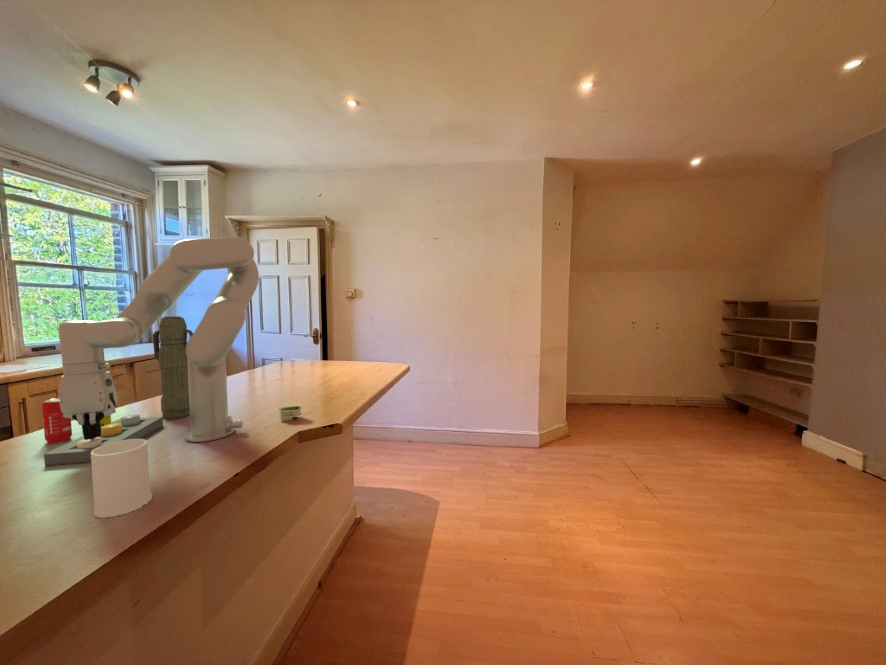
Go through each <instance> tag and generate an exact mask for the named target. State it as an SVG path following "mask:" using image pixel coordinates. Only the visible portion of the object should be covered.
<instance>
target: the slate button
mask: <svg viewBox="0 0 886 665" xmlns="http://www.w3.org/2000/svg"><path fill="white" fill-rule="evenodd" d="M140 418H141V416H140V414H128V415H125V416H121V417H120V418H119V419H120V421H121V424H122V426H136V425H138V424H139V423H140Z"/></svg>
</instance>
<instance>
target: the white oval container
mask: <svg viewBox="0 0 886 665" xmlns="http://www.w3.org/2000/svg"><path fill="white" fill-rule="evenodd" d="M148 450H149V449H148V441H147V440H146V439H144V438H142V439H127V440H121V441H116V442H112V443H108V444H105V445H102V446H100V447H97V448H95V449H94V450H92V451H91V463H90V464H91V474H92V475H91V476H92V488H93V501H94V502H93V503H94V505H93V507H94V508H93V515H94V517H96V518H99V519H110V518H115V517H119V515H120V516H124V515H127V514H129V513H132V511H133V512H135V511H137V510H140V509H141V508H143V507H144V506H143V505H145V504H146V505H147V504H148V502H149V501H150V502H151V500H152V499H153V493H152V492H151V481H150V465H149V451H148ZM150 502H149V503H150ZM146 505H145V506H146ZM142 506H143V507H142ZM123 514H124V515H123ZM107 517H108V518H107ZM109 517H110V518H109Z"/></svg>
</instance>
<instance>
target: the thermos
mask: <svg viewBox="0 0 886 665" xmlns="http://www.w3.org/2000/svg"><path fill="white" fill-rule="evenodd" d="M193 334H194V331H192V330H191V329H188V326H187V323H186V320H185V318H184V317H182V316H163V317H162V318H160V322H159V325H158V330H155V331H154V332H153V333H152V341H153V342H152V343H153V353H154V356H153V357H154V359H155V360H157V361H158V368H159V369H160V373H161V374H160V375H161V389H162V390H161V392H162V395H161V398H160V407H161V408H160V409H161V410H160V411H161V412H162V416H161V417H163V420H176V419H177V420H178V419H183V418H187V417H190V405H189V382H188V362H187V355H186V345H187V342H188V335H189V338H190V337H191V336H192V335H193Z"/></svg>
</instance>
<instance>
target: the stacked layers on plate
mask: <svg viewBox="0 0 886 665" xmlns="http://www.w3.org/2000/svg"><path fill="white" fill-rule="evenodd" d="M301 405H302V403H300V402H298V401H290V402H285V403H279V404H278V411H279V413H278V417H279V420H280V419H281V420H280V422H281V421H283V422H286V421H285V420H290V421H293V420H294V419H293V418H294V417H297V418H298V417H299V416H302V412H301V410H302V407H301ZM292 419H293V420H292Z"/></svg>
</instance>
